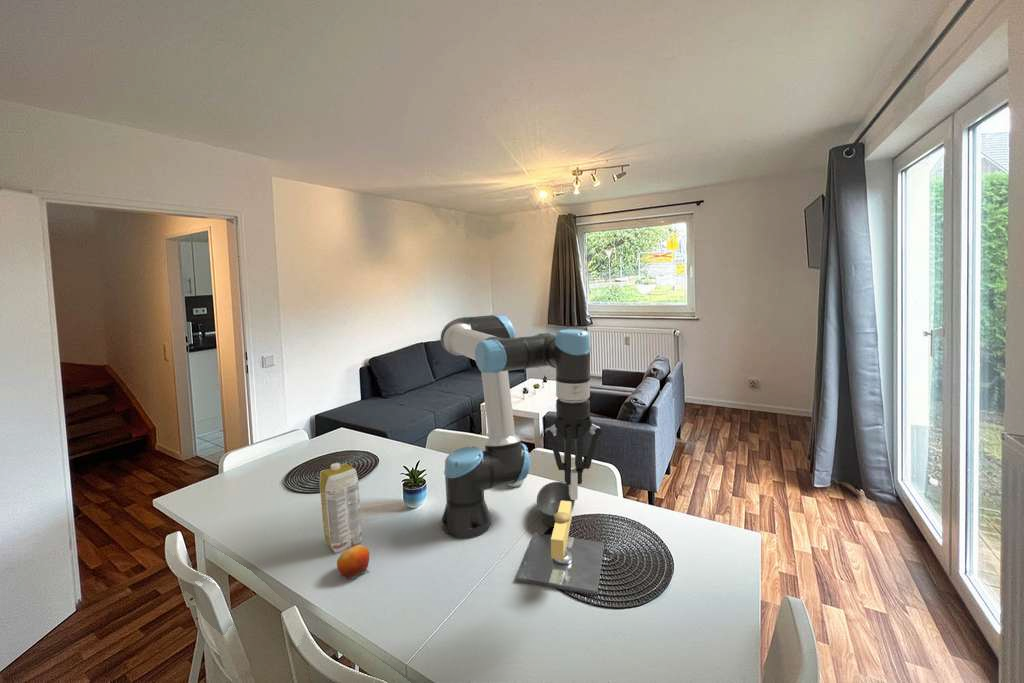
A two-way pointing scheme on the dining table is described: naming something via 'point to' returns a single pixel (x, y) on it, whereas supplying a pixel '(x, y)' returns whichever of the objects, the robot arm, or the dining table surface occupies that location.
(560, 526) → the bar
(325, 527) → the juice carton
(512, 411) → the robot arm
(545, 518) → the bowl
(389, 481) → the dining table surface
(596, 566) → the base
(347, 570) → the fruit
